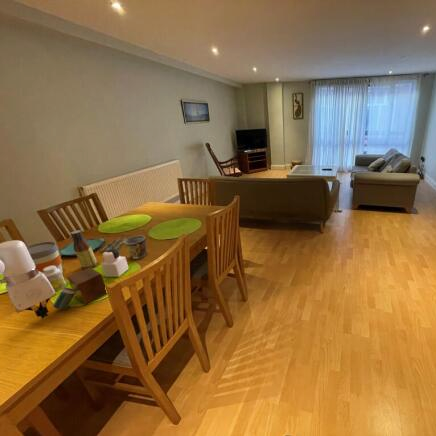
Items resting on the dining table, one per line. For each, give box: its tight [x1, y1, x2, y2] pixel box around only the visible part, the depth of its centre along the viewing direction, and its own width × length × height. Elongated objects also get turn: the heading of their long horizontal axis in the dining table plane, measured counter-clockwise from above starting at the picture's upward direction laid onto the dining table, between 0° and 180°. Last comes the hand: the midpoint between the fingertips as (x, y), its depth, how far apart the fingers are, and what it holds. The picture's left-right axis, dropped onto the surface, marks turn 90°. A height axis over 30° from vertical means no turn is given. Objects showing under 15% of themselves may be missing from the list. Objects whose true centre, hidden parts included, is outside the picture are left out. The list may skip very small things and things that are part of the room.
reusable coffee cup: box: [26, 241, 64, 274], centre depth 113 cm, size 13×13×15 cm
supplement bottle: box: [43, 266, 67, 291], centre depth 105 cm, size 6×6×10 cm
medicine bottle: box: [100, 248, 130, 278], centre depth 115 cm, size 7×7×12 cm
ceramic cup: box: [123, 235, 147, 260], centre depth 129 cm, size 13×10×10 cm
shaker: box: [52, 287, 77, 310], centre depth 94 cm, size 8×4×8 cm, turn 150°
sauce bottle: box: [70, 229, 98, 270], centre depth 118 cm, size 6×6×20 cm
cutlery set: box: [58, 237, 127, 258], centre depth 139 cm, size 20×30×2 cm, turn 101°
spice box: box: [66, 267, 108, 305], centre depth 100 cm, size 8×10×10 cm
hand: (43, 315), depth 90 cm, fingers closed
